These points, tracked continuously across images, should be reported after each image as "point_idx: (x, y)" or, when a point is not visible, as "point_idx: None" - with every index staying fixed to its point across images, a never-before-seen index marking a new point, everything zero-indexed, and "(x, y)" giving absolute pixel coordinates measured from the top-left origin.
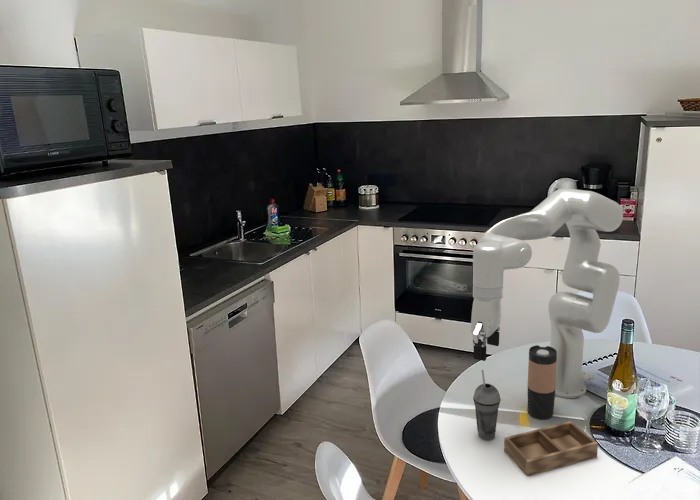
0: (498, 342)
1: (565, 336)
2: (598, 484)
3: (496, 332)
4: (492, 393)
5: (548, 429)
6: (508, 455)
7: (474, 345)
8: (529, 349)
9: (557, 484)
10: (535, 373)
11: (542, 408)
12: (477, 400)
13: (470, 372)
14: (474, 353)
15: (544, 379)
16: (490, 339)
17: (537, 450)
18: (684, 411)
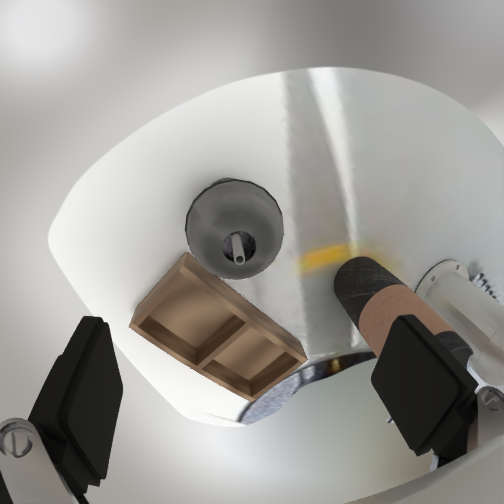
0: (383, 399)
1: (498, 373)
2: (180, 391)
3: (425, 444)
4: (214, 270)
5: (263, 334)
6: (175, 264)
7: (12, 427)
8: (453, 350)
9: (145, 350)
10: None
11: (343, 304)
12: (192, 209)
13: (459, 107)
14: (71, 349)
15: (376, 352)
16: (408, 365)
17: (215, 311)
18: (388, 418)
